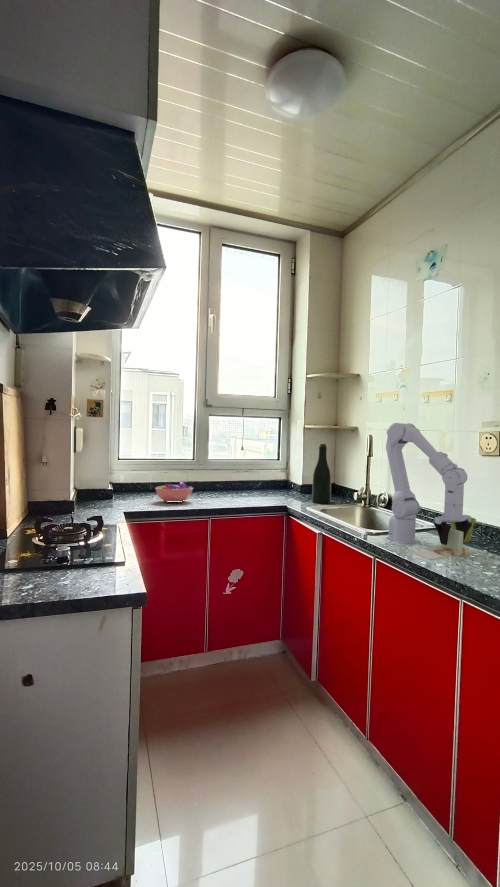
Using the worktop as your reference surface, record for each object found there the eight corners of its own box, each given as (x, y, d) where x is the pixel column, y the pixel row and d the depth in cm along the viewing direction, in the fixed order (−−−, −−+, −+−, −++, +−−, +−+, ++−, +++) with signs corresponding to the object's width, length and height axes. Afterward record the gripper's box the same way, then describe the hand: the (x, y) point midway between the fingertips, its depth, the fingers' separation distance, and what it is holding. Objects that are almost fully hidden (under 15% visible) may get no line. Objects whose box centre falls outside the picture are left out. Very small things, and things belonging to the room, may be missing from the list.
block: (441, 550, 148) (442, 527, 147) (445, 549, 148) (446, 527, 148) (458, 556, 141) (459, 532, 141) (462, 555, 142) (463, 531, 142)
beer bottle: (330, 501, 243) (332, 443, 242) (331, 504, 233) (333, 444, 232) (311, 500, 245) (313, 443, 244) (311, 503, 234) (313, 443, 233)
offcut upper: (433, 551, 145) (433, 548, 145) (439, 550, 146) (439, 547, 146) (445, 555, 140) (445, 552, 140) (451, 554, 141) (451, 551, 141)
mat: (408, 552, 144) (408, 550, 144) (424, 550, 146) (424, 549, 146) (429, 560, 135) (429, 558, 135) (445, 558, 138) (445, 556, 138)
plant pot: (480, 544, 157) (481, 520, 157) (455, 543, 157) (456, 520, 156) (466, 537, 166) (467, 515, 166) (443, 537, 166) (443, 515, 166)
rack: (436, 549, 148) (436, 542, 148) (446, 548, 150) (446, 541, 150) (457, 557, 140) (457, 549, 140) (467, 555, 142) (468, 548, 141)
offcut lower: (430, 554, 145) (430, 550, 145) (438, 553, 147) (438, 550, 147) (444, 559, 140) (444, 555, 140) (452, 558, 141) (453, 555, 141)
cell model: (155, 499, 234) (156, 479, 234) (192, 499, 238) (192, 479, 237) (154, 505, 217) (154, 483, 217) (193, 505, 221) (194, 483, 221)
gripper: (447, 506, 138) (445, 548, 138) (479, 504, 143) (477, 544, 144) (430, 503, 144) (428, 542, 145) (461, 501, 150) (460, 539, 150)
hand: (452, 543), depth 145 cm, fingers open, 7 cm apart
